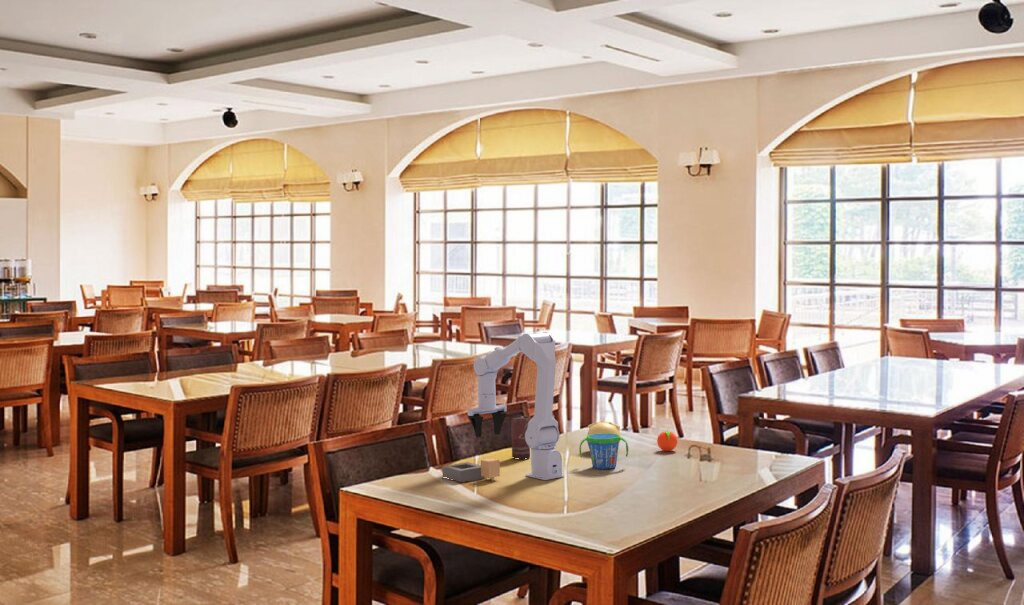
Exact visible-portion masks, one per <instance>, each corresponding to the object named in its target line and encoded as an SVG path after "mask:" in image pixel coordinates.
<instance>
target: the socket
mask: <svg viewBox="0 0 1024 605" xmlns="http://www.w3.org/2000/svg"><path fill="white" fill-rule="evenodd" d="M441 468H442V469H441V470H442V478H443V477H447V478H449V479H453V480H456V481H459V482H458V483H460V482H462V483H466V482H465V481H468V482H473V481H478V480H484V477H483V476H481V464H477V463H476V464H475V463H472V462H469V461H467V462H462V463H461V462H460V463H455V464H449V465H443V466H441ZM456 481H455V482H456Z"/></svg>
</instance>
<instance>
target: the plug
mask: <svg viewBox="0 0 1024 605" xmlns="http://www.w3.org/2000/svg"><path fill="white" fill-rule="evenodd" d="M480 465H481V476H483V477H484V479H483V480H484V481H487V480H488V479H490V480H491V482H493V481H494V482H495V478H497V477H501V474H500V473H501V472H500V471H501V469H500V459H498V458H493V457H491V458H483V459H480ZM487 478H488V479H487Z"/></svg>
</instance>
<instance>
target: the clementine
mask: <svg viewBox="0 0 1024 605" xmlns="http://www.w3.org/2000/svg"><path fill="white" fill-rule="evenodd" d="M656 443H657V446H658V447H659V449H660V450H662V451H663V452H671V451H673V450H674V449H676V447H677V445H678V438H677V436H676V434H675V433H673V432H672V431H669V430H665V431H662V432H661V433H659V435H658V436H657V440H656Z"/></svg>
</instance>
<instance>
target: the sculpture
mask: <svg viewBox="0 0 1024 605" xmlns="http://www.w3.org/2000/svg"><path fill="white" fill-rule="evenodd" d="M587 427H588V431H587V435H586V437H587V436H588V435H592V434H600V433H611V434H618V435H620V436H621V433H620V428H621V426H620V425H619V424H616V423H614V422H611V421H610V422H609V421H607V420H601V421H595V422H593V423H591V424H588V425H587ZM586 443H587V446H588V447H589V445H588V442H587V441H586ZM620 443H621V440H620V441H619V445H618V448H619V447H620Z"/></svg>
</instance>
